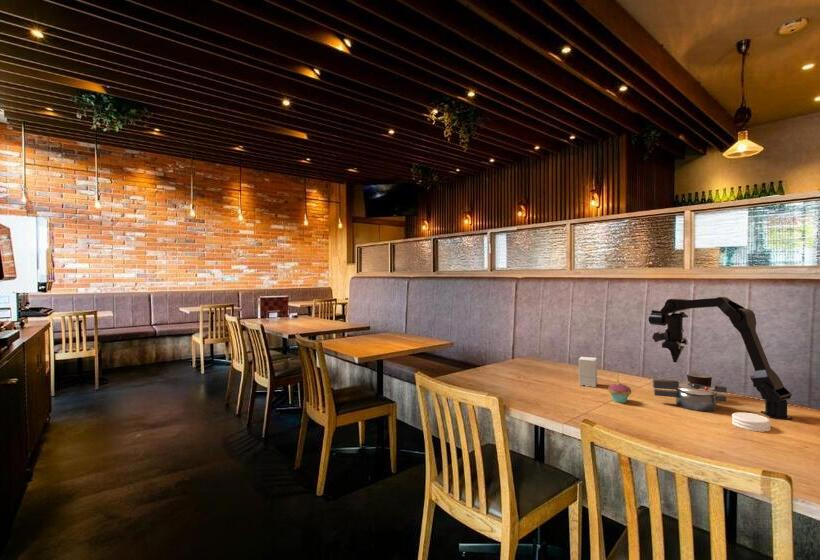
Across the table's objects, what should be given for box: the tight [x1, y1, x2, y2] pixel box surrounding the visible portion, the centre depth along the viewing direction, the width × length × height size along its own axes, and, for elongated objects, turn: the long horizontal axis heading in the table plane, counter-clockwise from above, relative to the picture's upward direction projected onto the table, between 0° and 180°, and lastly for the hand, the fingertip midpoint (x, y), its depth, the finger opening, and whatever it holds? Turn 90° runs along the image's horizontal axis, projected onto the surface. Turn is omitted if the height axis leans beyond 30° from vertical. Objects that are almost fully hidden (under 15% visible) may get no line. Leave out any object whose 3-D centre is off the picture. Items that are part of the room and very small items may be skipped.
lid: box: [652, 378, 728, 395], centre depth 159 cm, size 24×14×3 cm, turn 72°
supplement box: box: [578, 356, 598, 388], centre depth 191 cm, size 7×7×13 cm
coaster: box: [731, 411, 771, 433], centre depth 137 cm, size 10×10×4 cm
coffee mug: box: [686, 372, 713, 387], centre depth 169 cm, size 12×9×10 cm
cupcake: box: [607, 373, 632, 404], centre depth 166 cm, size 9×8×12 cm
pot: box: [653, 388, 727, 413], centre depth 159 cm, size 24×13×6 cm, turn 68°
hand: (675, 362), depth 178 cm, fingers closed
